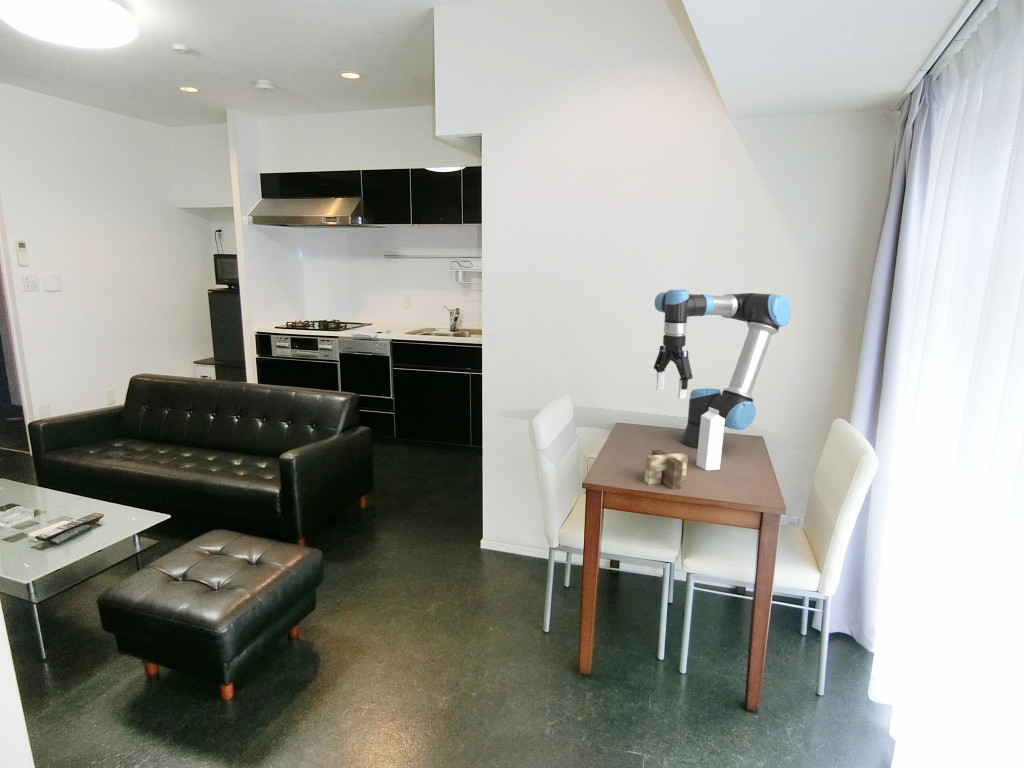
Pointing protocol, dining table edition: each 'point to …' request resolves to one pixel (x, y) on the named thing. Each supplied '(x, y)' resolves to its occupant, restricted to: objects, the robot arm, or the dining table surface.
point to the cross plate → (662, 467)
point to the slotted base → (671, 471)
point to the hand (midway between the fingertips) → (670, 393)
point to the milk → (710, 440)
